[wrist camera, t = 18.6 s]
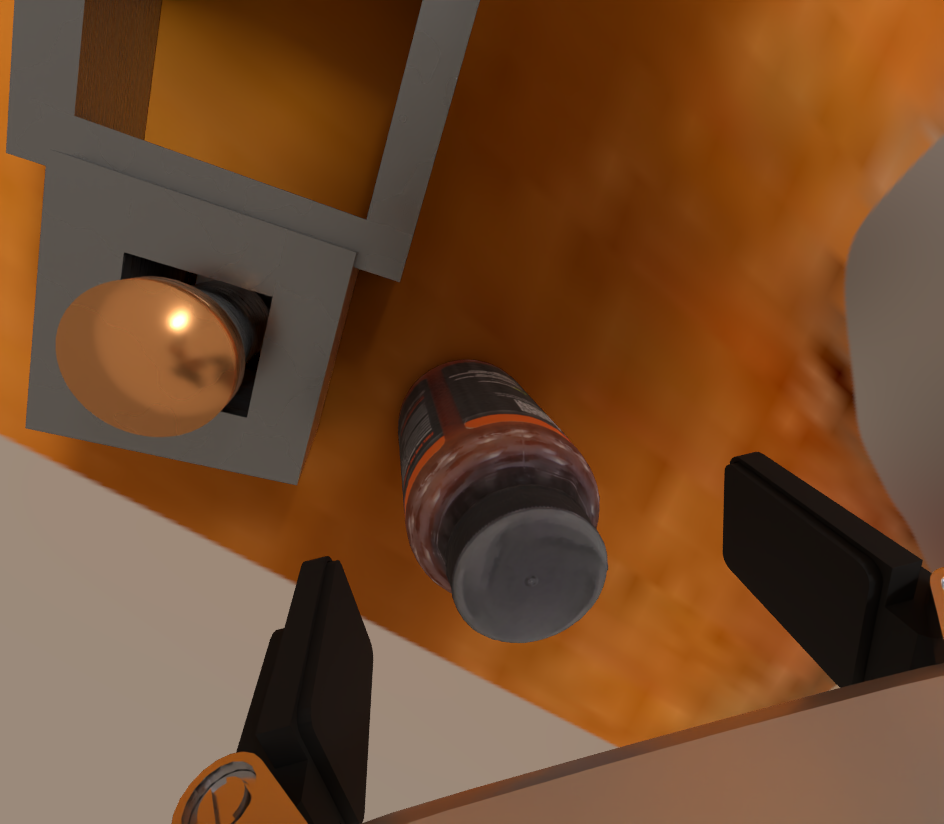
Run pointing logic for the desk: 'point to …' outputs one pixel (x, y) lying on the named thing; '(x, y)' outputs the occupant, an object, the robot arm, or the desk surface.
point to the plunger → (159, 351)
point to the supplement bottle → (498, 503)
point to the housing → (204, 221)
